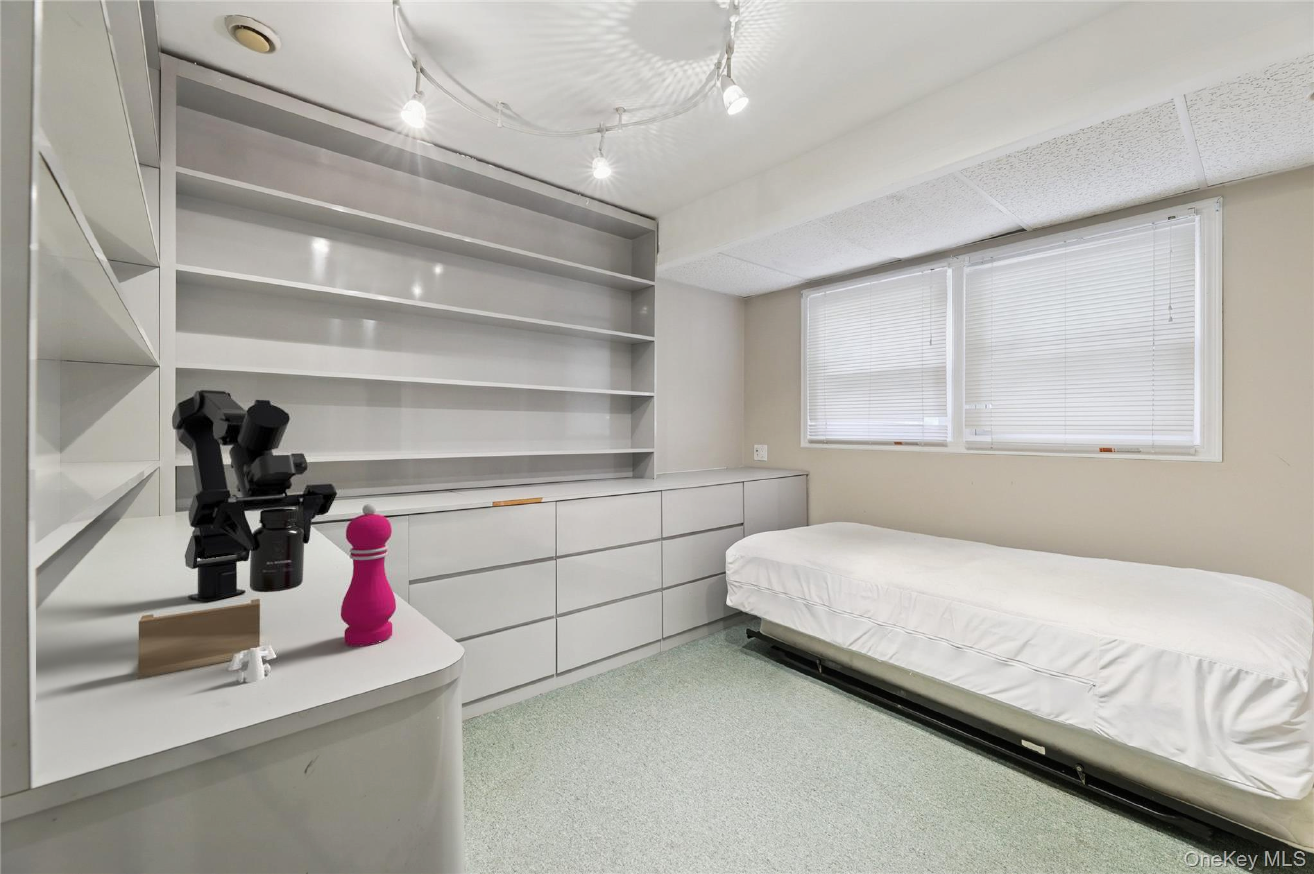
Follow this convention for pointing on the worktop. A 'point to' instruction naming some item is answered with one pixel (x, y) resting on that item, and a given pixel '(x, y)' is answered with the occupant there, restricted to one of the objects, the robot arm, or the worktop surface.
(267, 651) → the clip
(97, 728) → the worktop surface
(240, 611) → the holder
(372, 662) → the worktop surface
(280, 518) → the supplement bottle
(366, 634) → the pepper mill
